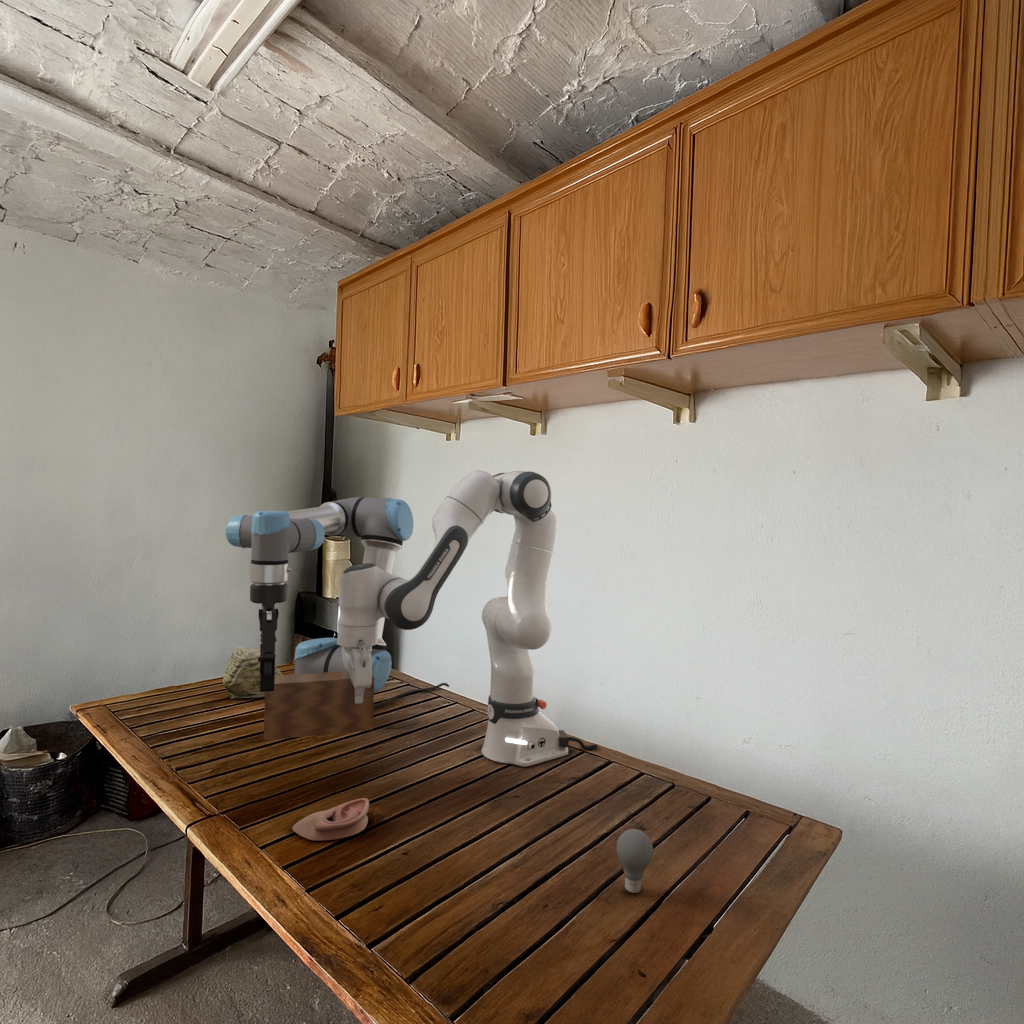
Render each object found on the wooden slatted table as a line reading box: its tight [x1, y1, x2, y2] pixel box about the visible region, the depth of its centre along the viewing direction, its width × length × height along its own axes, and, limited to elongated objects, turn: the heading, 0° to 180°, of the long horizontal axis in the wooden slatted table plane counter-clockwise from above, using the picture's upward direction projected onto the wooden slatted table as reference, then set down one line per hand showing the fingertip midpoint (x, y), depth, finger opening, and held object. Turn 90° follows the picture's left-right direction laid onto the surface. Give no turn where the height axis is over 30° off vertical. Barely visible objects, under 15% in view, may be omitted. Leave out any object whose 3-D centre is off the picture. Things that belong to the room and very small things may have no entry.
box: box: [263, 671, 375, 741], centre depth 140 cm, size 23×6×12 cm, turn 111°
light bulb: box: [615, 828, 654, 894], centre depth 106 cm, size 6×6×10 cm
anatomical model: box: [291, 797, 370, 842], centre depth 122 cm, size 13×4×12 cm
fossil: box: [222, 646, 283, 699], centre depth 198 cm, size 9×18×15 cm, turn 132°
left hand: (266, 681), depth 136 cm, fingers open, 13 cm apart
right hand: (355, 696), depth 143 cm, fingers closed on box, 6 cm apart
